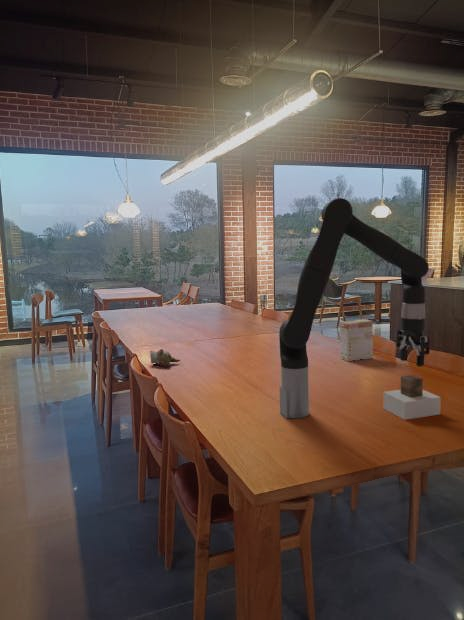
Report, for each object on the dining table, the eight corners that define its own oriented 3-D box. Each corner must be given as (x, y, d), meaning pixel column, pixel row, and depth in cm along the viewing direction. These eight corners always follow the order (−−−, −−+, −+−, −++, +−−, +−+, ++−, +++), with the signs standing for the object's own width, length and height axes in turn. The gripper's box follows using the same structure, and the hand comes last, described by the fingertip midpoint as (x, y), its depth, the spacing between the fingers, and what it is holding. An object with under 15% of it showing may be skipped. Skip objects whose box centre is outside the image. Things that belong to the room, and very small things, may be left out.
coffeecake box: (364, 355, 244) (365, 318, 241) (373, 358, 237) (373, 320, 234) (339, 358, 239) (339, 321, 237) (347, 361, 232) (347, 323, 230)
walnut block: (409, 397, 157) (410, 380, 157) (400, 393, 162) (400, 376, 161) (422, 395, 159) (422, 378, 158) (412, 391, 163) (413, 374, 163)
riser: (404, 419, 154) (404, 402, 153) (383, 408, 165) (383, 391, 164) (440, 414, 157) (440, 397, 157) (416, 403, 169) (417, 387, 168)
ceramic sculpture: (156, 345, 245) (180, 348, 239) (156, 361, 247) (180, 365, 240) (144, 349, 236) (169, 353, 229) (144, 366, 237) (169, 370, 231)
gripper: (390, 314, 163) (389, 359, 165) (417, 319, 149) (415, 369, 151) (409, 312, 165) (407, 357, 167) (437, 318, 151) (435, 367, 153)
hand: (411, 363), depth 159 cm, fingers open, 8 cm apart
